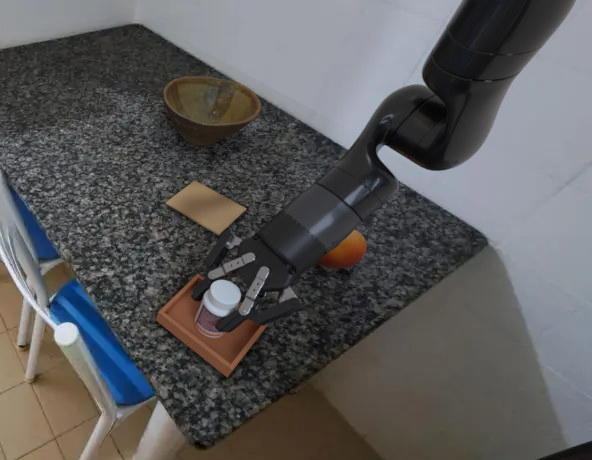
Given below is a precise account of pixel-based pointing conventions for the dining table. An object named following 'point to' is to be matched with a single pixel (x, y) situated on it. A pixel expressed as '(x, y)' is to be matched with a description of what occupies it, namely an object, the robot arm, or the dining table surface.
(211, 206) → the mat
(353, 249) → the fruit
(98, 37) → the dining table surface
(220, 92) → the bowl
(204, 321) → the pill bottle
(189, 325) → the tray
